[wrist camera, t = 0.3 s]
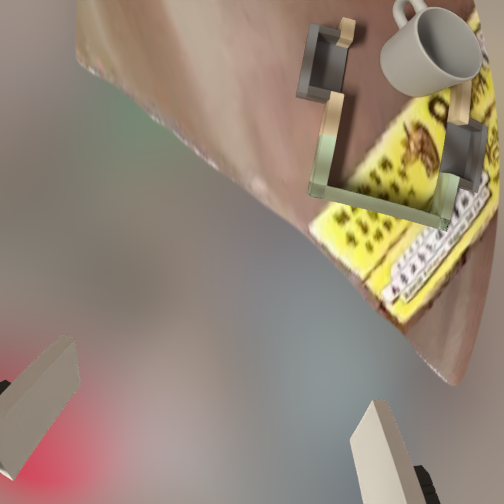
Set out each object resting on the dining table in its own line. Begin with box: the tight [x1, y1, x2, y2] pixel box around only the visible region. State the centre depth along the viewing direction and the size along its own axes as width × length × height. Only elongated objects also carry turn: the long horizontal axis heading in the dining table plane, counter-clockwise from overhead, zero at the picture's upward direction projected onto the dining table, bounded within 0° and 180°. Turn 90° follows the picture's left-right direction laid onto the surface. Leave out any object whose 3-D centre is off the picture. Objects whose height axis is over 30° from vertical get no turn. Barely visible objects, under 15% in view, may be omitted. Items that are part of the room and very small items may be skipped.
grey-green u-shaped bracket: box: [296, 17, 488, 232], centre depth 32 cm, size 22×25×3 cm
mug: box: [380, 0, 482, 97], centre depth 25 cm, size 12×8×11 cm
